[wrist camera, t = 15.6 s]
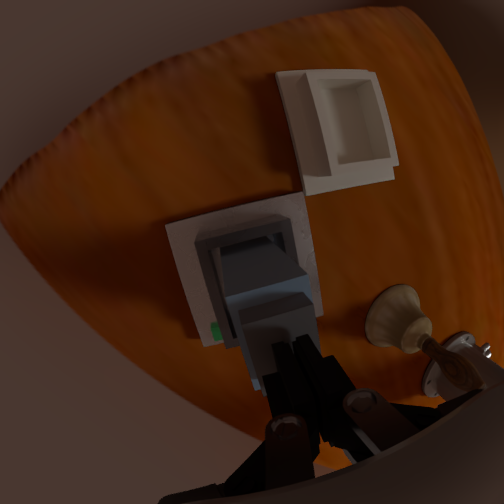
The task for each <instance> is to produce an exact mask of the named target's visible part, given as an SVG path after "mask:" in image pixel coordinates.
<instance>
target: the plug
mask: <svg viewBox="0 0 504 504" xmlns="http://www.w3.org/2000/svg"><path fill="white" fill-rule="evenodd" d="M220 255H221V265H222V274H223V283H224V292H225V299H226V302H227V305H228V308H229V312H230V315H231V318H232V321H233V325H234V328H235V331H236V334H237V337H238V341H239V344H240V347H241V350H242V353H243V356H244V359H245V362H246V365H247V368H248V371H249V374H250V377H251V380H252V383H253V386H254V389H255V391H256V390H259V389H261V391H262V394H263V397H264V396H267V394H266V390H265V386H264V382H263V378H262V376H264V375H268V374H271V373H275V372H277V368H276V363H275V359H274V355H273V351H272V347H271V344H273V343H277V342H281V341H283V342H284V344H285V343H289V344H290V347H291V349H292V351H293V346H292V341H296V337H298V336H301V335H305V334H308V335H309V336H310V338H311V339H312V341H313V343H314V344H315V346H316V348H317V349H318V351H319V352H320V354H321V350H320V343H319V336H318V329H317V322H316V316H315V309H314V304H313V299H312V293H311V287H310V281H309V276H308V274H307V273H306V272H305V271H304V270H303V269H302V268H301V267H300V266H299V265H298V264H296V263H295V262H294V261H293V260H292V259H291V258H290V257H289V256H288V255H287V254H285V253H284V252H283V251H282V250H281V249H280V248H279V247H278V246H277V245H275V244H274V243H273V242H272V241H271V240H270V239H269V238H268V237H267V236H262V237H259V238H255V239H251V240H247V241H243V242H240V243H236V244H232V245H228V246H224V247H221V248H220ZM293 353H294V351H293Z"/></svg>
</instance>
